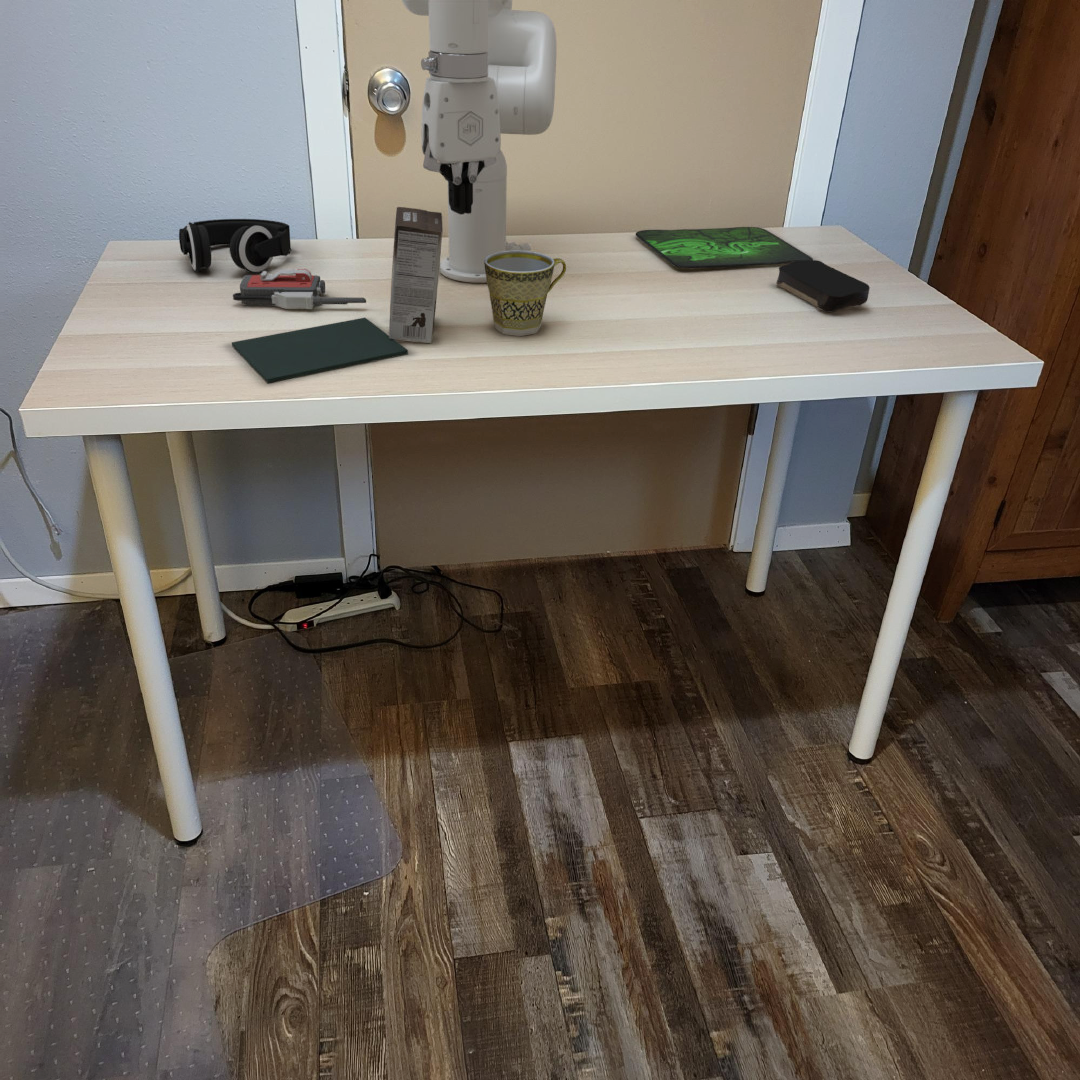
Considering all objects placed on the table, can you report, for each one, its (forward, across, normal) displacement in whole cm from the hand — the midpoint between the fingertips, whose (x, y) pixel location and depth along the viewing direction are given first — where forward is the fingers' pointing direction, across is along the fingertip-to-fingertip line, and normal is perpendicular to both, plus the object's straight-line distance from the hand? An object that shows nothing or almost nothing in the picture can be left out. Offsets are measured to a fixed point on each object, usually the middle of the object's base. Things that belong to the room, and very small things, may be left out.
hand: (460, 211), depth 136 cm
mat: (+16, -22, 0) cm, 28 cm away
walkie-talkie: (+16, -17, +19) cm, 31 cm away
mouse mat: (+16, +60, +9) cm, 63 cm away
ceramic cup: (+16, +8, -6) cm, 19 cm away
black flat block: (+16, +57, -18) cm, 62 cm away
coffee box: (+16, -8, 0) cm, 18 cm away
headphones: (+16, -19, +43) cm, 50 cm away
